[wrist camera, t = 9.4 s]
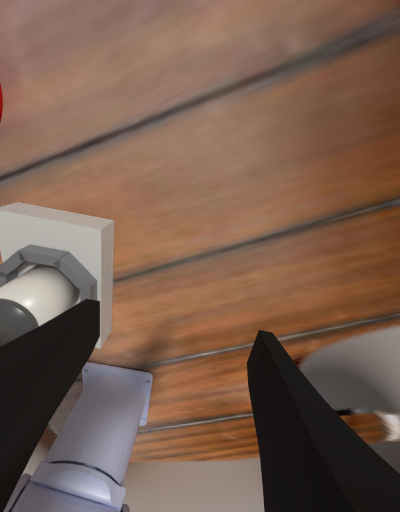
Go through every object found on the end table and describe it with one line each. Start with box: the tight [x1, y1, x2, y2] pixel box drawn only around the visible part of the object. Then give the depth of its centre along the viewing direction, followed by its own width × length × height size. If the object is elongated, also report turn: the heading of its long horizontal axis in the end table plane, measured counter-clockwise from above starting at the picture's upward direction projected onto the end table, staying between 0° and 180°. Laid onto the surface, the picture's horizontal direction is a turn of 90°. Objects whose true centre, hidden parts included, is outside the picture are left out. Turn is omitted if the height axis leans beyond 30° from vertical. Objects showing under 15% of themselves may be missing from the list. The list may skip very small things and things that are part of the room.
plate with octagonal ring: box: [0, 202, 114, 349], centre depth 20 cm, size 12×8×4 cm, turn 170°
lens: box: [0, 264, 80, 346], centre depth 17 cm, size 4×4×5 cm
